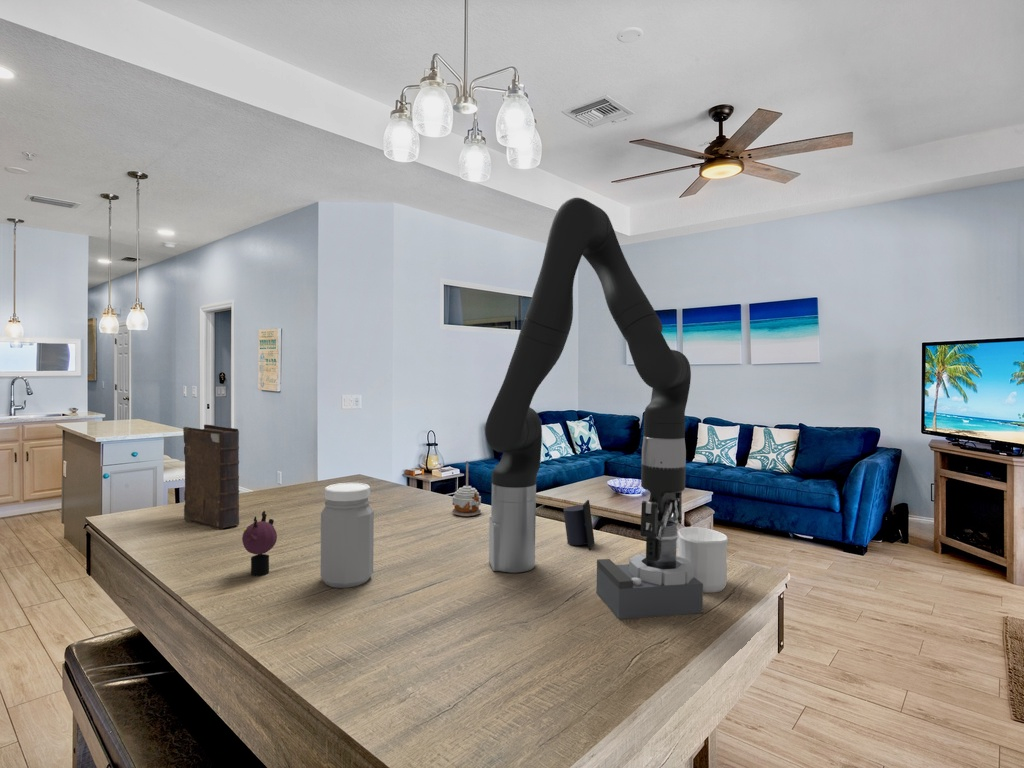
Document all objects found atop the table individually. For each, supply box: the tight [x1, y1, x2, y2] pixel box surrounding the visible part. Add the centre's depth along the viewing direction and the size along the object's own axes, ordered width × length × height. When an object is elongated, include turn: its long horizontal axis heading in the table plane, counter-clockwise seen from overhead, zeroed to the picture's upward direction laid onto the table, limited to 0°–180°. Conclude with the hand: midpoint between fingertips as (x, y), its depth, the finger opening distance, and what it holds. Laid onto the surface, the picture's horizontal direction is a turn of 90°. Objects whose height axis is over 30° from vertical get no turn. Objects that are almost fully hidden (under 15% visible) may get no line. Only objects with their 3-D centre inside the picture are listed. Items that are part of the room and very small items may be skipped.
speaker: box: [563, 499, 596, 551], centre depth 133 cm, size 8×6×10 cm
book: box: [182, 424, 240, 530], centre depth 146 cm, size 17×7×25 cm, turn 54°
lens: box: [647, 521, 678, 569], centre depth 100 cm, size 5×5×9 cm
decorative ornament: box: [452, 460, 482, 517], centre depth 159 cm, size 8×8×15 cm
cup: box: [676, 526, 729, 594], centre depth 109 cm, size 10×10×10 cm
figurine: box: [241, 510, 278, 577], centre depth 111 cm, size 8×8×12 cm
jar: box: [320, 482, 375, 589], centre depth 108 cm, size 10×10×18 cm
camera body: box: [595, 552, 704, 620], centre depth 100 cm, size 15×11×7 cm
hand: (661, 553), depth 100 cm, fingers open, 8 cm apart
